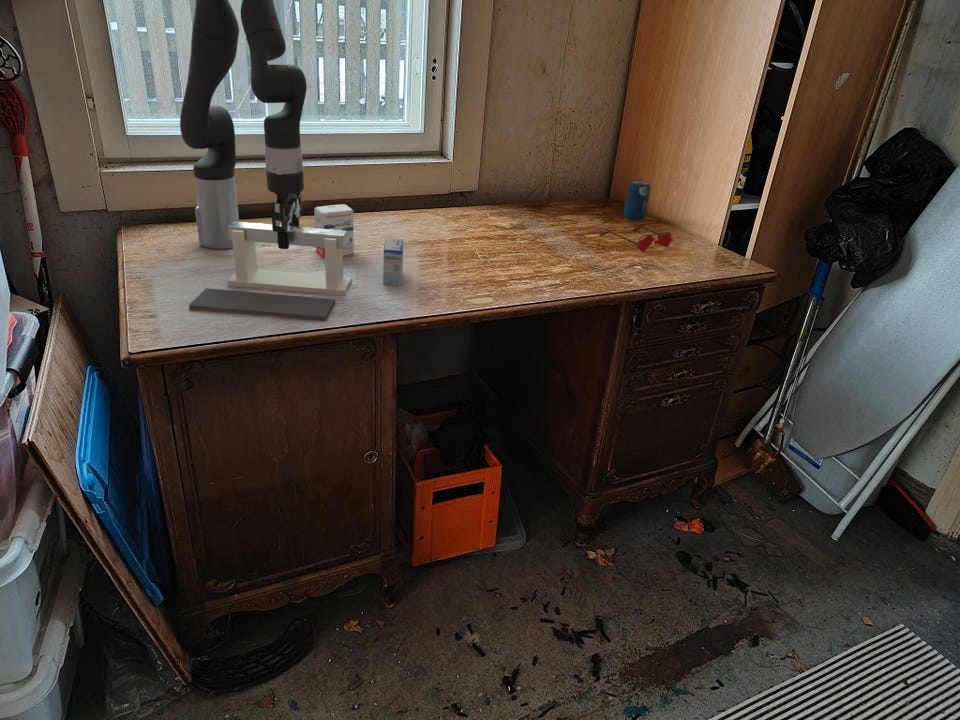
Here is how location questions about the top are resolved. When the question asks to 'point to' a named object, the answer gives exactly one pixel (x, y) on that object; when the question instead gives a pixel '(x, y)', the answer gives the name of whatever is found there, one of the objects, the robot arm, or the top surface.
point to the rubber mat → (263, 304)
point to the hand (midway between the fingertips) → (289, 242)
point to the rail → (296, 234)
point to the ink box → (336, 224)
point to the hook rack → (288, 280)
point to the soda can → (636, 200)
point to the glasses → (649, 239)
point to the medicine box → (393, 262)
